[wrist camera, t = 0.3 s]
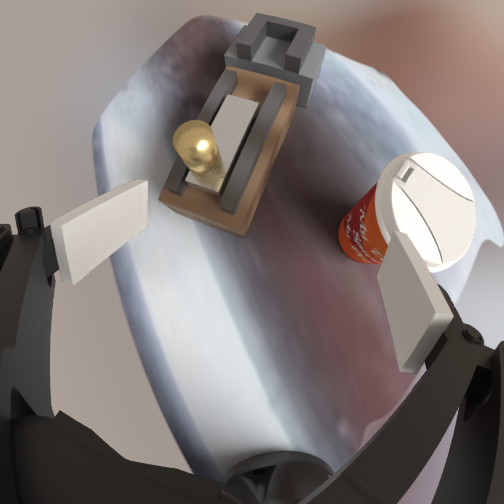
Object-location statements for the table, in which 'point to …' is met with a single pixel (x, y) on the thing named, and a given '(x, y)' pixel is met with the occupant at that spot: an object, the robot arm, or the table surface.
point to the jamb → (279, 52)
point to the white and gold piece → (215, 144)
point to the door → (250, 160)
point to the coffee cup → (413, 212)
